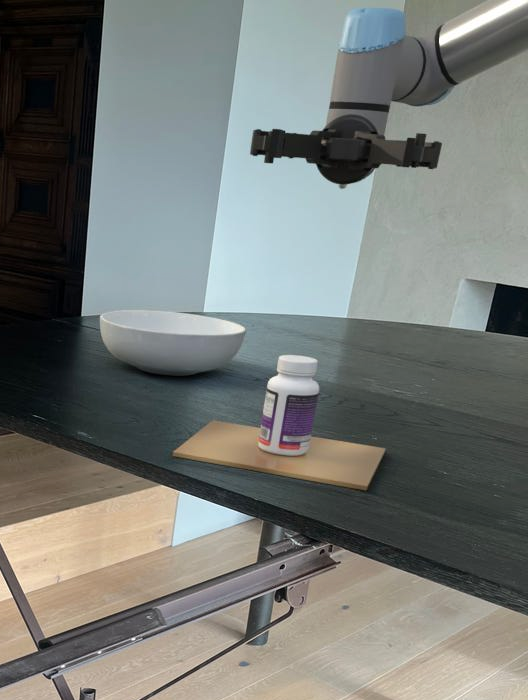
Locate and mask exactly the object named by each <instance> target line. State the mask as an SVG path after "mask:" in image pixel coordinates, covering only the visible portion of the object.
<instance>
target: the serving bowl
mask: <svg viewBox="0 0 528 700" xmlns="http://www.w3.org/2000/svg"><path fill="white" fill-rule="evenodd" d="M99 327H100V329H99V331H100V336H101V338H102V341H103V344H104V346H105V347H106V349H107V350H108V351H109V353H110V354H112V355H113V356H114V357H115V358H116V359H118V360H119V361H121V362H123V363H126V364H128V365H130V366H133V367H134V368H135V367H136V368H137V369H138V370H140V371H143V372H147V373H150V374H155V375H160V376H161V375H163V376H174V377H175V376H176V377H177V376H178V377H184V376H192V375H196V374H198V373H204V372H209V371H213V370H217V369H219V368H221V367H223V366H225V365H226V364H228V363H229V362H230V361H232V359H234V358H235V356H236V355H237V354H238V352H239V351H240V350H241V347H242V345H243V342H244V339H245V337H246V334H247V329H246V328H245V327H244V325H242V324H239V323H236V322H233V321H230V320H226V319H221V318H217V317H211V316H206V315H199V314H192V313H186V312H185V313H184V312H175V311H163V310H149V309H148V310H145V309H122V310H113V311H107V312H104V313H102V314H100V316H99Z"/></svg>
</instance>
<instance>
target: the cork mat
mask: <svg viewBox="0 0 528 700" xmlns="http://www.w3.org/2000/svg"><path fill="white" fill-rule="evenodd" d="M260 429H261V427H257V426H252V425H251V426H250V425H245V424H239V423H233V422H228V421H220V420H214V419H212V420H211V421H210V422H209V423H207V424H206V425H205V426H203V427H201V429H200V430H198V431H197V432H196V433H195V434H193V435H192V436H191V437H190V438H188V439H187V440H186V441H185V442H183V444H181V445H180V446H179V447H178V448H176V449H175V450H174V451H172V457H175V458H181V459H185V460H191V461H196V462H197V461H198V462H203V463H208V464H214V465H220V466H226V467H231V468H235V469H236V468H237V469H241V470H248V471H253V472H259V473H265V474H271V475H276V476H282V477H287V478H293V479H298V480H304V481H310V482H315V483H322V484H326V485H332V486H337V487H342V488H349V489H354V490H360V491H368V490H369V489H368V488H369V486H370V485H371V483H372V480H373V478H374V476H375V474H376V472H377V470H378V469H379V467H380V464H381V462H382V460H383V458H384V456H385V454H386V452H387V449H386V448H385V447H379V446H372V445H367V444H361V443H354V442H349V441H343V440H336V439H330V438H323V437H318V436H312V435H311V439H310V444H309V449H308V451H307V453H305V454H303V455H299V456H284V455H278V454H273V453H269V452H266V451H263V450H262V449H261V448H260V447H259V445H258V443H259V435H260Z"/></svg>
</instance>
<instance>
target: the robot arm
mask: <svg viewBox="0 0 528 700" xmlns="http://www.w3.org/2000/svg"><path fill="white" fill-rule="evenodd" d="M342 26H343V27H342V31H341V35H340V39H339V42H338V44H337V55H336V61H335V66H334V67H335V68H334V74H333V80H332V86H331V93H330V100H329V107H328V110H327V116H326V120H325V121H326V122H325V126H324V127H323V128H322V130H316V129H315V130H312V131H311V132H310V134H306V133H297V132H286V130H285V129H280V128H272V129H271V130H269V131H267V130H262V129H260V128H256V129H254V130H253V129H252V136H251V142H250V150H249V155H251V156H252V157H258V156H264V158H263V159H264V160H263V164H274V160H275V159H282V158H288V159H292V160H293V159H295V158H297V159H305V162H306V163H307V164H313V165H315V166H316V168H317V170H318V172H319V173H320V175H321V176H322V177H323V178H324V179H326V180H327V181H328V182H330V183H332V184H336V185H338V188H339V189H340V190H343V189H346V188H348V187H347V186H348V185H351V184H356V183H359V182H361V181H363V180H365V179H366V178H368V177H369V176H370V175H372V174H373V172H374V171H375V169H379V168H380V166H381V165H390V166H392V165H393V166H396V167H399V168H408V169H409V168H413V169H417V168H427V169H428V170H434V169H437V168H438V164H439V162H440V161H439V160H440V155H441V152H442V146H443V142H442V141H441V142H440V141H437V140H435V141H432V142H430V141H427V142H426V139H427V135H428V134H427V133H419V132H416V133H415V137H406V140H401V139H400V140H399V139H397V140H396V139H386V136H385V134H386V128H387V123H388V118H389V113H390V109H391V105H392V102H394V103H400V104H404V105H408V106H411V107H423V106H432V105H436V104H438V103H440V102H441V101H443V100H445V99H446V98H447V97H448V96H449V94H450V93H452V91H453V90H454V88H455V87H456V86H457V85H460V84H462V83H464V82H466V81H468V80H470V79H473V78H475V77H476V76H479V75H480V74H483V73H486V72H487V71H489V70H491V69H494V68H495V67H498V66H500V65H503V63H507V62H508V61H510V60H513V59H514V58H517V57H519V56H521V55H523V54H525V53H528V0H485V1H483V2H482V3H480V4H478V5H476V6H474V7H472V8H470V9H468V10H466V11H464V12H463V13H461V14H459V15H457V16H455V17H453V18H452V19H450V20H448V21H446V22H444V23H442V24H440V25H439V26H437V27H435V28H433V29H431V30H428V31H427V32H425V33H423V34H421V35H419V36H413V35H409V34H408V35H407V34H406V33H407V32H406V27H407V17H406V14H405V12H404V11H403V10H400V9H395V8H388V7H358V8H353V9H351V10H350V11H349V12H348V13H347V14H346V16H345V18H344V23H343V25H342Z"/></svg>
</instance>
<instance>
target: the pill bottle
mask: <svg viewBox="0 0 528 700" xmlns="http://www.w3.org/2000/svg"><path fill="white" fill-rule="evenodd" d="M318 362H319V361H318V360H317V359H316V358H313V357H310V356H305V355H298V354H297V355H296V354H283V355H282V354H281V355H280V356H278V361H277V368H276V371H277V372H278V373H277V375H274V376H273V377H271V378H270V379H269V380H268V381H267V386H266V390H265V399H264V403H263V410H262V417H261V424H260V428H261V429H260V435H259V443H258V445H259V447H260V448H261V449H262V450H263V451H266V452H269V453H273V454H278V455H284V456H299V455H303V454H305V453H307V451H308V449H309V444H310V439H311V436H312V433H313V432H312V431H313V427H314V422H315V421H314V420H315V416H316V409H317V404H318V399H319V393H320V385H319V382H317V381H316V380H315V379H313V376H315V375H316V373H317V368H318Z"/></svg>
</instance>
